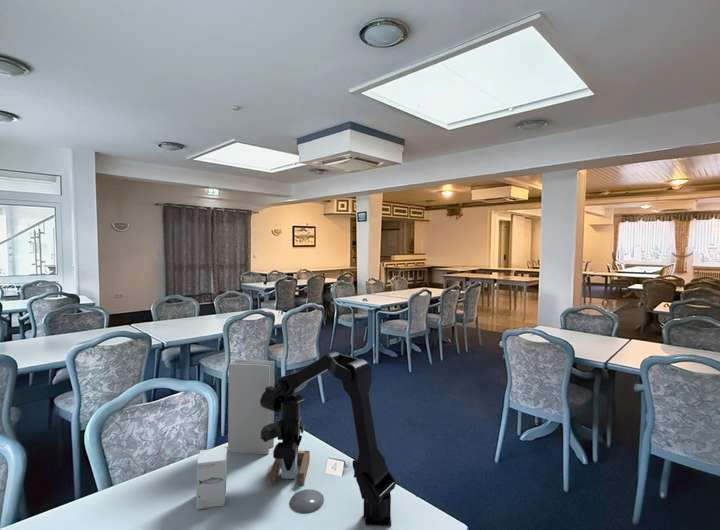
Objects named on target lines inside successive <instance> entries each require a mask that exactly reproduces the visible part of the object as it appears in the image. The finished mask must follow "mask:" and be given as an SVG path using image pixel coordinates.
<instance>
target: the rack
mask: <svg viewBox="0 0 720 530" xmlns="http://www.w3.org/2000/svg"><path fill="white" fill-rule="evenodd" d="M310 452H311V451H310V450H298V452H297V465H299V464H300V468H299V471H298V486H304V485H305V482H306V477H307V474H308V469H309V465H310V459H311V458H310V454H311V453H310ZM281 470H282V459H275V458H274V461H273V464H272V466H271V469H270V471H269V485H271V486H273V485H276V482H277V479H278V477H279V474H280V472H281Z"/></svg>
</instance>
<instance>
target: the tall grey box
mask: <svg viewBox="0 0 720 530" xmlns="http://www.w3.org/2000/svg"><path fill="white" fill-rule="evenodd" d="M275 365H276V363H275V361H274V360H261V359H260V360H257V359H256V360H255V359H253V360H252V359H234V363H228V388H227V389H228V392H227V393H228V396H227V397H228V398H227V400H228V403H227V404H228V408H227V410H228V411H227V412H228V413H227V416H228V417H227V418H228V419H227V420H228V421H227V423H228V424H227V425H228V426H227V452H231V453H242V454H243V453H245V454H257V455H258V454H260V455H269V454H270V453H269V451H270V448H273V447H274V448H275V446H274V445H275V438H274V439H271V440H268V441H267V442H264V441H263V439H261V430H262V429H263V427H264V426H266V425H269V424H271V423H274V422H275V412H274V411H272V410H269V409H266V408H263V407H262V406H261V404H260V399H261V397H262V395H263V393H264V392H265V388H266V387H269V386H272V387H274V388H275V377H276V376H275V375H276V373H275V367H276V366H275Z"/></svg>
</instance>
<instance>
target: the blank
mask: <svg viewBox="0 0 720 530" xmlns="http://www.w3.org/2000/svg"><path fill="white" fill-rule="evenodd" d="M297 473H298V464H297V454H296V457H295V459H294V462H293V464H292V467H291V469H290V471H287V470H286V467H285V464H284V460H283V459H282V466H281V479H289V480H291V479H294V480H295V479H296V477H297Z"/></svg>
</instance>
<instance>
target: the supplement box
mask: <svg viewBox="0 0 720 530" xmlns="http://www.w3.org/2000/svg"><path fill="white" fill-rule="evenodd" d="M227 464H228V447H221V448H212V449H211V448H210V449H202V450H199V453H198V457H197V463H196V498H195V499H196V500H195V501H196V505H195V506H196V507H195V510H197V511H198V510H201V509H208V508H215V507H223V506H225V505H226V496H227V472H228V471H227V469H228V468H227Z"/></svg>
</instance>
